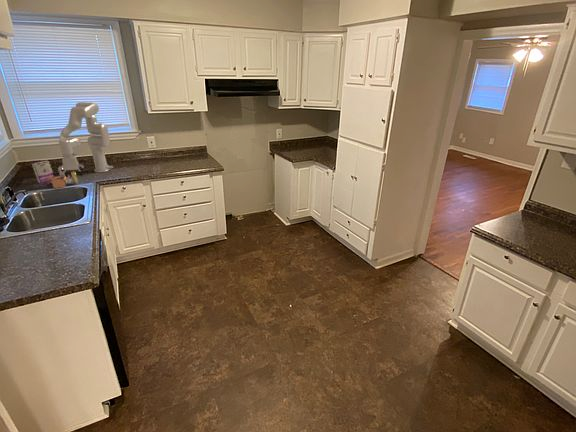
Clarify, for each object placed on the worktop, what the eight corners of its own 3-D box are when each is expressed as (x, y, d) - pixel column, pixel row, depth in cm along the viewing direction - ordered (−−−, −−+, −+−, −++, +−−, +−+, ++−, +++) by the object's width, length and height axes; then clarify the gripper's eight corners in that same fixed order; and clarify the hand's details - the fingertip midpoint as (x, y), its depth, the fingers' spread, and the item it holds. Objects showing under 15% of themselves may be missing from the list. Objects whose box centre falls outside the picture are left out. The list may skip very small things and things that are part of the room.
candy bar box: (52, 179, 264) (46, 160, 257) (55, 180, 262) (49, 161, 255) (37, 182, 256) (31, 163, 249) (40, 183, 253) (34, 164, 246)
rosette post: (73, 179, 264) (69, 165, 259) (67, 187, 248) (62, 172, 243) (59, 180, 261) (55, 166, 256) (52, 188, 245) (47, 173, 240)
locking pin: (79, 182, 257) (75, 171, 253) (78, 184, 255) (74, 172, 250) (74, 183, 256) (71, 171, 252) (73, 184, 254) (70, 172, 249)
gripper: (82, 153, 251) (87, 174, 259) (56, 155, 246) (63, 176, 253) (79, 156, 245) (85, 176, 252) (54, 157, 239) (60, 178, 247)
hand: (74, 176), depth 253 cm, fingers open, 9 cm apart
